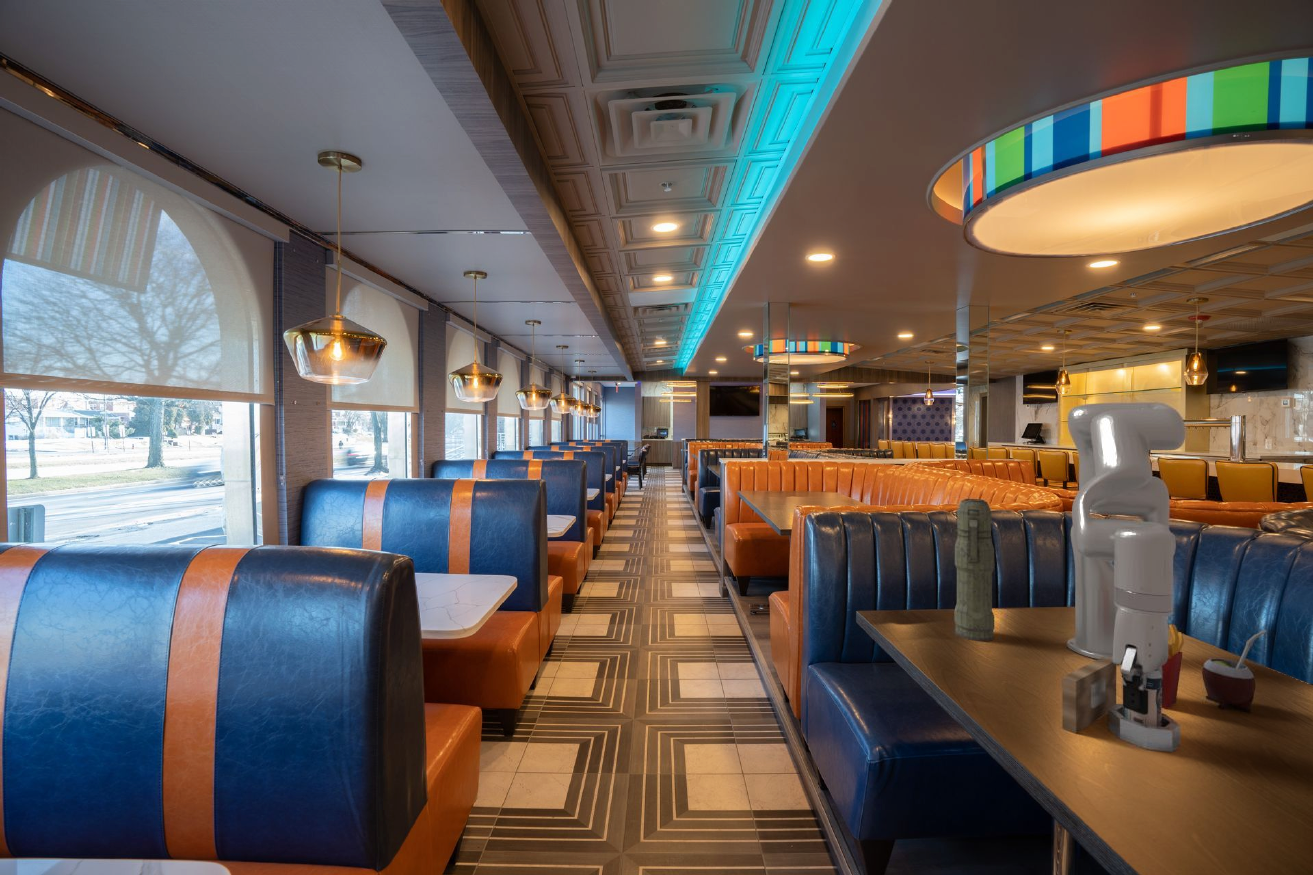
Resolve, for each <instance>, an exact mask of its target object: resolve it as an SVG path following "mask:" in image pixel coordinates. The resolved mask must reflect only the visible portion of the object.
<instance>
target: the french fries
mask: <svg viewBox="0 0 1313 875" xmlns="http://www.w3.org/2000/svg"><path fill="white" fill-rule="evenodd" d="M1168 629H1170V634H1171V640H1170V637H1168V660H1167V662H1166V663H1165V664H1164V665H1163V667H1162V672H1163V679H1162V681H1163V703H1162V709H1165V710H1168V709H1169V708H1171V707H1172V706H1174V705H1175V704H1176V703H1177V699H1178V698H1177V696H1178V688H1179V681H1180V676H1181V675H1180V674H1181V667H1182V666H1181V665H1182V659H1183V652H1182V651H1181V650H1182V649H1183V646H1184V643H1185V642H1184V640H1185V639H1184V635H1183V633H1182V632H1180V631H1179V632H1178V629H1177V626H1176V625H1175V624H1168Z"/></svg>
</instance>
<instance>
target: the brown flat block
mask: <svg viewBox="0 0 1313 875" xmlns="http://www.w3.org/2000/svg"><path fill="white" fill-rule="evenodd" d="M1061 680H1062V685H1061V686H1062V692H1061V694H1062V698H1061V699H1062V702H1061V704H1062V708H1061V709H1062V710H1061V711H1062V713H1061V714H1062V718H1061V719H1062V726H1061V727H1062V728H1061V729H1063V728H1064V729H1063V730H1065V729H1067V730H1066V731H1068V730H1069V731H1068V732H1071V733H1073V732H1074V734H1077V733H1079V732H1081V731H1082V730H1084V729H1085V728H1087V727H1089V726H1090V725H1093V723H1096V721H1098V720H1099V719H1101V718H1103V717H1105V716H1106V715H1108V708H1110V707H1112V706H1113V705H1115V704H1117V665H1115V664H1114V663H1113V659H1109V658H1106V657H1102V658H1100V659H1096V660H1094V661H1092V662H1090V663H1088V664H1087V665H1084V666H1081V667H1080V668H1078V669H1076V670H1074V671H1072V672H1070V673H1068V674H1066V675H1064V676H1062V678H1061ZM1088 725H1089V726H1088ZM1081 729H1082V730H1081ZM1080 730H1081V731H1080Z"/></svg>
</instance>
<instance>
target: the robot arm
mask: <svg viewBox="0 0 1313 875" xmlns="http://www.w3.org/2000/svg"><path fill="white" fill-rule="evenodd" d="M1067 427H1068V431H1069V434H1070V437H1071V438H1072V441H1073V443H1074V445H1075V447H1076V450H1077V453H1078V460H1079V461H1078V462H1079V464H1078V492H1077V494H1076V496H1075V497H1074V500H1073V503H1072V508H1071V510H1072V511H1071V519H1072V520H1071V521H1072V526H1071V529H1070V541H1071V546H1072V551H1073V560H1074V575H1075V576H1074V578H1075V579H1074V580H1075V582H1074V583H1075V585H1074V586H1075V588H1074V592H1075V594H1074V595H1075V596H1074V597H1075V601H1074V602H1075V606H1074V607H1075V608H1074V609H1075V610H1074V611H1075V617H1074V619H1075V623H1074V624H1075V626H1074V627H1075V630H1074V631H1075V632H1074V633H1075V637H1072V638H1069V639H1068V640H1067V647H1068V648H1069V650H1071V651H1073V652H1075V653H1077V654H1079V655H1081V656H1085V657H1088V658H1092V659H1094V660H1095V659H1096V660H1098V659H1100V658H1102V657H1106V658H1109V659H1113V663H1114V664H1115V665H1116V667H1118V666H1121V667H1120V674H1121V678H1122V681H1121V682H1122V683H1121V684H1122V704H1123V707H1124V708H1126V709H1129V710H1132V711H1135V712H1138V713H1141V714H1144V715H1146V714H1148V690H1145V688H1146V681H1147V673H1150V672H1152V671H1154V670H1156V669H1158V670H1159V672H1160V673H1161V675H1162V679H1163V672H1162V667H1163V665H1164V664H1165V663H1166V662H1167V660H1168V638H1169V624H1168V621H1169V620H1168V616H1172V615H1173V614H1174V555H1175V553H1176V548H1177V542H1176V536H1175V534H1174V533H1173V532H1171V530H1170V494H1169V490H1168V487H1167V485H1166V483H1165V482H1164V480H1162V479H1161V478H1159V477H1157V476H1153V471H1152V470H1153V469H1152V464H1151V460H1150V454H1149V451H1176V450H1178V449H1180V448H1181V447H1182V446H1183V445H1184V443H1185V440H1186V436H1187V431H1186V424H1185V422H1184V419H1183V417H1182V416H1181V414H1180V412H1178V411H1177V410H1176V408H1174V407H1172V406H1170V405H1168V404H1166V403H1164V402H1158V401H1157V402H1156V401H1154V402H1149V401H1148V402H1147V401H1145V402H1103V403H1099V402H1098V403H1088V404H1081V405H1077V406H1074V407H1072V408H1071V409H1070V410H1069V412H1068V414H1067ZM1091 514H1097V515H1106V516H1120V517H1121V516H1123V517H1135V518H1136V517H1137V518H1139V519H1141V521H1140V520H1129V519H1112V518H1095V517H1094V518H1093V517H1092V516H1091ZM1113 563H1114V565H1113ZM1135 665H1137V666H1141V667H1142V669H1141V670H1139V669H1135V668H1134V667H1135ZM1134 672H1136V673H1139V674H1141V675H1140V680H1139V678H1138V676H1136V675H1134ZM1162 703H1163V681H1162Z"/></svg>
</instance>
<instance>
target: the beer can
mask: <svg viewBox="0 0 1313 875" xmlns="http://www.w3.org/2000/svg"><path fill="white" fill-rule="evenodd" d="M1134 668H1135V669H1139V670H1141V669H1142V667H1141V666H1137V665H1135V667H1134ZM1134 675H1136V676H1138V678H1139V680H1140V675H1141V674H1139V673H1136V672H1134ZM1145 690H1148V714H1146V715H1144V714H1141V713H1138V712H1135V711H1132V710H1129V709H1126V708H1125V718H1126V719H1129V720H1132V721H1135V722H1138V723H1141V724H1144V725H1148V726H1158V727H1162V713H1163V712H1162V711H1163V710H1162V709H1163V708H1162V675H1161V673H1160V672H1159V670H1158V669H1156V670H1154V671H1152V672H1150V673H1147V681H1146V688H1145Z"/></svg>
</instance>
